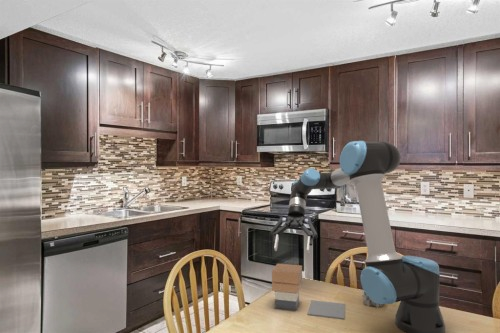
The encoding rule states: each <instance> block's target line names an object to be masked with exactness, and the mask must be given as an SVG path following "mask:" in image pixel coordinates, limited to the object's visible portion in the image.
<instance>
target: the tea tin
mask: <svg viewBox="0 0 500 333" xmlns="http://www.w3.org/2000/svg"><path fill="white" fill-rule="evenodd" d="M299 304H300V292H299V293H289V292H279V291H274V308H275V309H278V310H285V311H294V312H296V311H297V310H298V306H299Z"/></svg>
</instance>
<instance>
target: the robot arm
mask: <svg viewBox="0 0 500 333" xmlns="http://www.w3.org/2000/svg"><path fill="white" fill-rule="evenodd" d="M400 163H401V153H400V150H399V149H398V147H397V146H395V145H394V144H393V143H392V142H388V141H369V140H368V141H367V140H358V141H357V140H354V141H349V142H348V143H347V144H346V145H345V146H344V147H343V148H342V151H341V153H340V156H339V168H337V169H334V170H332V171H330V172H319V171H318V170H316V169H314V168H307V169H305V171H304V172H302V174H301V175H300V178H299V179H297V180H295V181H293V183H292V186H291V189H290V191H291V192H290V196H289V197H290V199H289V203H288V211H287V216H286V217H283V215H280V217H279V220H278V221H277V222H276V223H275V225H274V226H273V227H272V229H271V230H270V231H269V232H270V236H272V237H273V239H272V241H273V244H274V247H273V249H274V251H275V252H277V251H278V247H279V239H280V238H279V236H280V235H282V234H283V233H284V232H285V231H286V230H289V229H291V228H292V229H295V228H296V229H299V228H300V229H301V230H302V231H303V232H304V233H305V234H306V235H307V244H306V245H307V246H306V253H307V254H310V247H311V246H313V242H314V239H318V233H317V231H316V229H315V226H314V224H313V222H312V219H311V217H309V216H308V218H305V214H306V207H307V206H306V205H307V198H308V196H309V194H310V193H311V191H313V190H324V189H325V190H329V189H333V190H336V189H342V188H343V187H344V186H345V185H347V184H351V183H352V184H353V185H354V186H355V190H356V194H357V201H358V205H359V211H360V216H361V221H362V222H361V223H362V226H363V232H364V238H365V244H366V247H367V253H368V255H367V257H366V258H365V260H364V265H365V267H364V268H363V269H362V270H361V273H360V278H359V279H360V284H361V287H362V290H363V293H364V292H365V293H366V295H367V296H369V297H368V299H369V300H372V301H374V302H375V303H378V304H382V305H388V304H389V305H392V304H394V303H399V305H398V307H397V310H396V313H395V319H394V320H395V324H396V326H397V327H398V328H399V329H400V330H402V331H403V332H406V333H445V332H446V323H445V320H444V318H443V314H442V311H441V308H440V276H441V273H440V265H439V263H437V262H436V261H435V260H432V259H429V258H425V257H420V256H416V255H407V254H406V255H402V256H401V255H399V254H398V253H397V251H396V247H395V243H394V237H393V233H392V228H391V223H390V218H389V214H388V208H387V204H386V200H385V195H384V194H385V193H384V189H383V188H384V187H383V184H382V181H383V179H384V178H385V174H389V173H392V172H394V171H395V170H397V168H398V167H400V166H399V165H400ZM305 223H306V224H307V225H308V227H309V228H308V227H307V226H306V225H305ZM309 229H310V230H309Z"/></svg>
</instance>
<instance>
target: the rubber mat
mask: <svg viewBox="0 0 500 333" xmlns="http://www.w3.org/2000/svg"><path fill="white" fill-rule="evenodd" d="M345 314H346V303H344V302H343V303H342V302H341V303H340V302H332V301H324V300H316V299H315V300H312V299H311V300H310V303H309V307H308V310H307V316H313V317H321V318H329V319H337V320H345V319H346V318H345V317H346V315H345Z"/></svg>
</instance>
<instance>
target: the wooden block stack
mask: <svg viewBox="0 0 500 333" xmlns="http://www.w3.org/2000/svg"><path fill="white" fill-rule="evenodd" d="M302 285H303V265H299V264H298V265H297V264H287V263H276V265H275V266H274V268H273V269H272V271H271V291H272V292H275V291H279V292H289V293H299V294H300V290H301V288H302Z"/></svg>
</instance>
